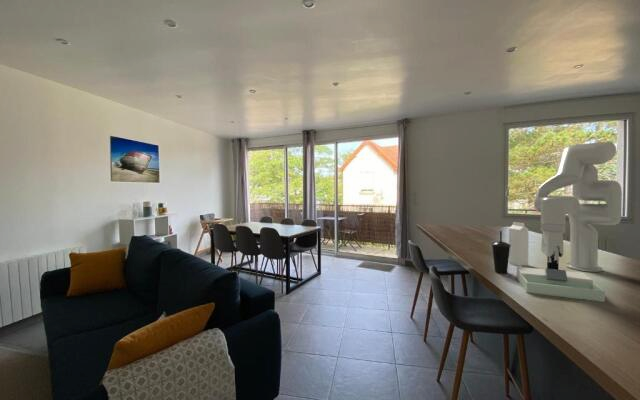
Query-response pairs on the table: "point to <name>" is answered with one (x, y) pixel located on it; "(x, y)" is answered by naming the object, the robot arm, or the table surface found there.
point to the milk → (518, 244)
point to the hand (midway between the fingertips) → (552, 271)
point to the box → (563, 288)
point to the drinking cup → (501, 255)
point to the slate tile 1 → (556, 275)
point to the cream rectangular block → (541, 273)
